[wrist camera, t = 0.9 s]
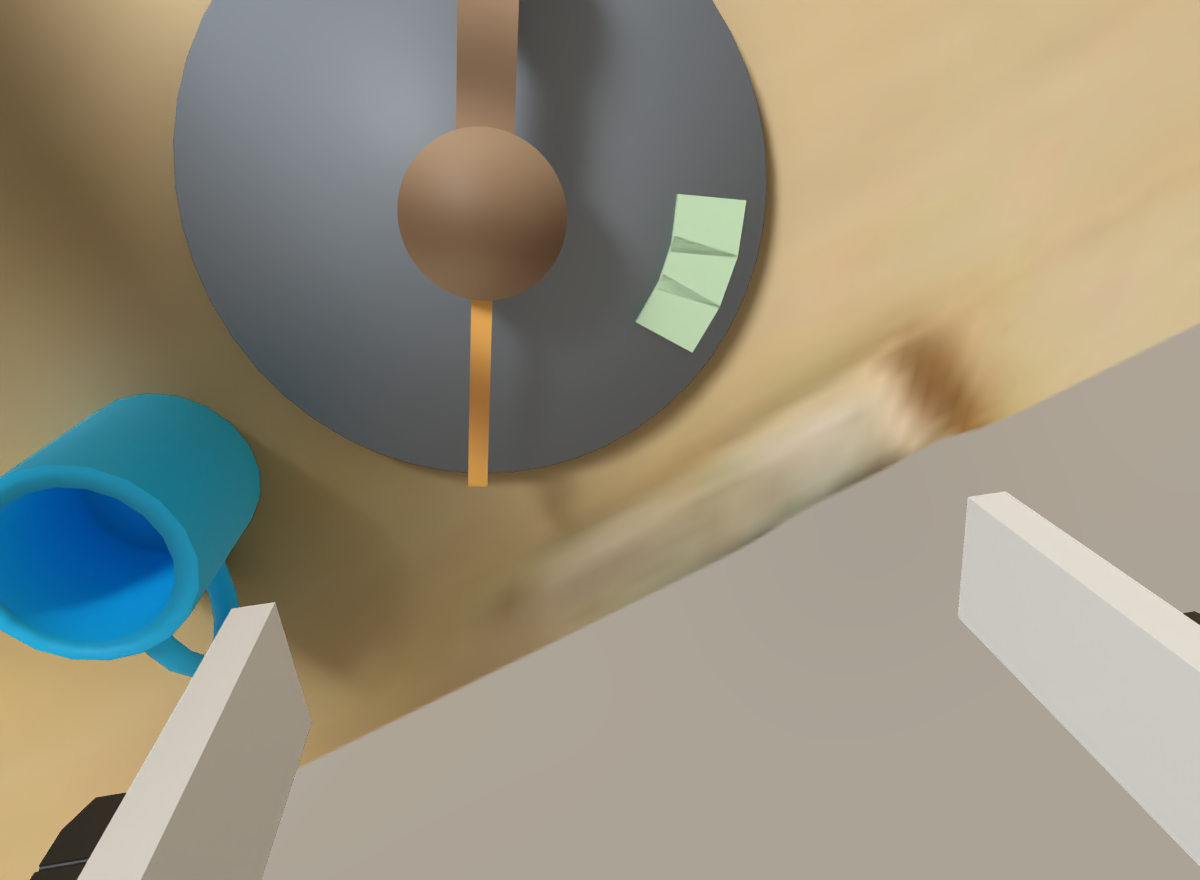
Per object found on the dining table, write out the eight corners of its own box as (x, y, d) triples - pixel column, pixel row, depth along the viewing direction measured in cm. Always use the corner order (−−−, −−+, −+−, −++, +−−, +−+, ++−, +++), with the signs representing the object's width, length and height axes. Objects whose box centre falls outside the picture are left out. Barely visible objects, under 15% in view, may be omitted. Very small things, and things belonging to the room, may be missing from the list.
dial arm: (406, -107, 27) (391, -149, 23) (575, -86, 28) (587, -123, 24) (411, 456, 35) (401, 496, 31) (544, 459, 36) (550, 498, 32)
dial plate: (52, 174, 31) (-9, 178, 27) (497, -299, 27) (497, -369, 23) (477, 554, 39) (475, 597, 35) (858, 230, 36) (900, 240, 32)
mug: (32, 431, 34) (-100, 513, 27) (204, 366, 34) (121, 430, 27) (177, 639, 39) (100, 760, 31) (329, 582, 39) (289, 689, 31)
